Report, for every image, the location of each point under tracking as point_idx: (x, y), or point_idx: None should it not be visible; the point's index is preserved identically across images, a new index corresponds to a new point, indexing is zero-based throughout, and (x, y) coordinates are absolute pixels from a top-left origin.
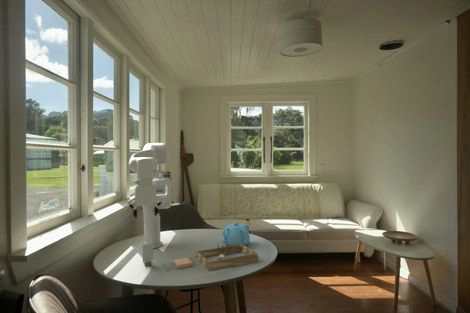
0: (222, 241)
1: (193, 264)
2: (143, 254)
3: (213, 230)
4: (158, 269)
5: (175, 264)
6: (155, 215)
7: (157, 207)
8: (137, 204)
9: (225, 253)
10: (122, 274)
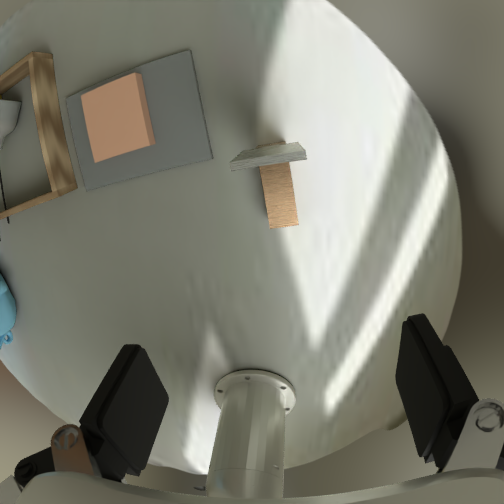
0: (4, 287)
1: (82, 113)
2: (295, 145)
3: None
4: (223, 102)
5: (144, 103)
6: (141, 348)
7: (70, 428)
8: (497, 486)
9: (2, 211)
10: (381, 101)
